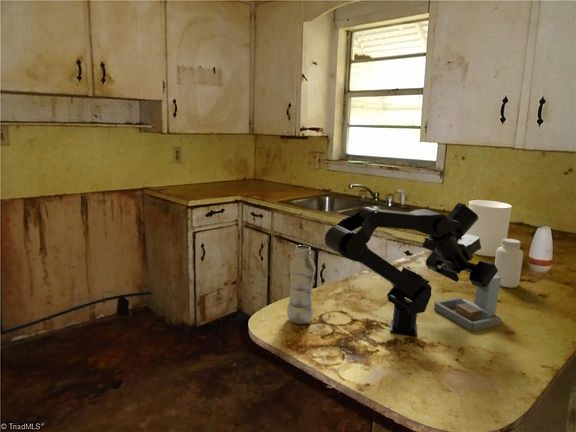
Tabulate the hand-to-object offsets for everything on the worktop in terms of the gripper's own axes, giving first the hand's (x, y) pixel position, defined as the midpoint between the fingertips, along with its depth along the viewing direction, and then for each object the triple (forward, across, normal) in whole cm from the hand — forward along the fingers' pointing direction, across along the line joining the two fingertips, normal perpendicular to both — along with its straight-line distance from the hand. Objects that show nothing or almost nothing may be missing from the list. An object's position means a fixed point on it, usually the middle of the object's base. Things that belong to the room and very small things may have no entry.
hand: (471, 285), depth 115 cm
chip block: (+6, 0, +7) cm, 9 cm away
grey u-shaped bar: (+6, 0, +7) cm, 9 cm away
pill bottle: (+28, +12, -18) cm, 35 cm away
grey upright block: (+10, 0, +2) cm, 10 cm away
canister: (+45, +40, -39) cm, 72 cm away
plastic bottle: (-24, +17, +38) cm, 48 cm away
